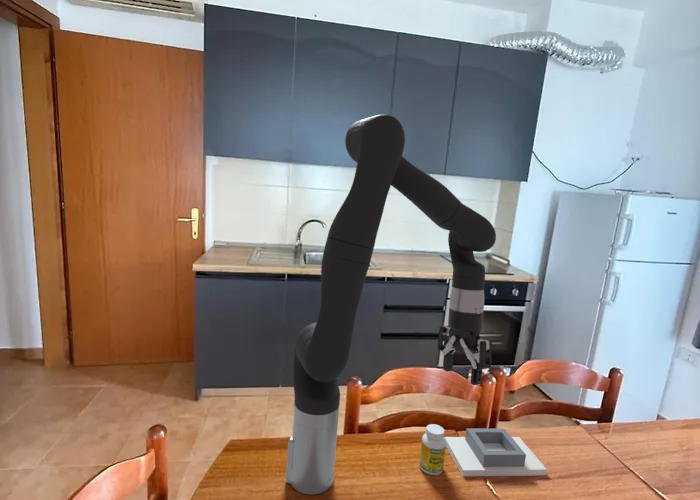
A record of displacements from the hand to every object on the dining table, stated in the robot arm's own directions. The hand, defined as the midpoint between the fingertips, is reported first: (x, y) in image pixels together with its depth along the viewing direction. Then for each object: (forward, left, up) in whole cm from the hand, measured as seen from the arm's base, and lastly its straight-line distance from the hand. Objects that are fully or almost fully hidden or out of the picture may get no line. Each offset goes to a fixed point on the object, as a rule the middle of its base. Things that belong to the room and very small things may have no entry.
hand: (461, 377), depth 92 cm
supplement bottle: (-4, -5, -21) cm, 22 cm away
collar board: (+10, +4, -20) cm, 23 cm away
